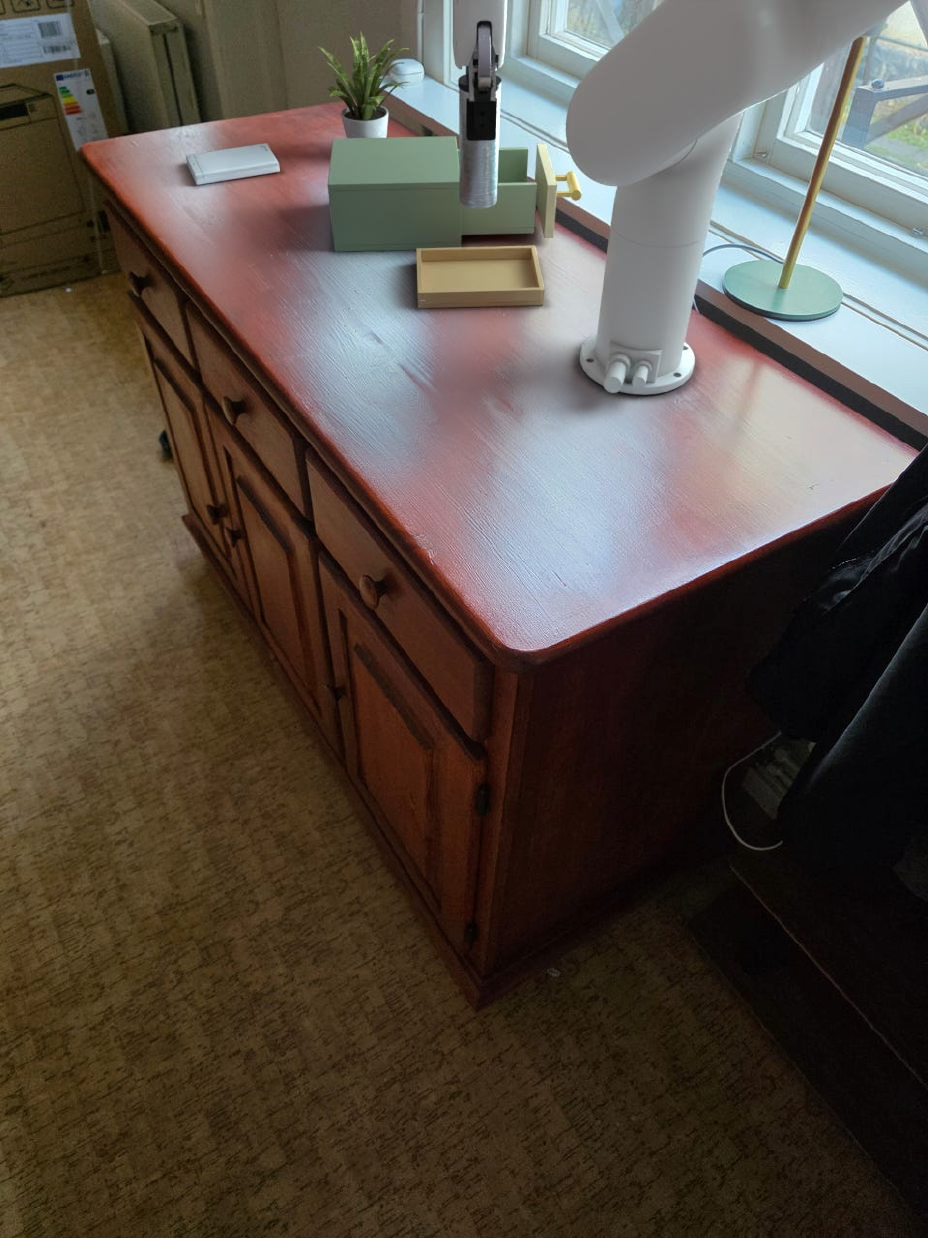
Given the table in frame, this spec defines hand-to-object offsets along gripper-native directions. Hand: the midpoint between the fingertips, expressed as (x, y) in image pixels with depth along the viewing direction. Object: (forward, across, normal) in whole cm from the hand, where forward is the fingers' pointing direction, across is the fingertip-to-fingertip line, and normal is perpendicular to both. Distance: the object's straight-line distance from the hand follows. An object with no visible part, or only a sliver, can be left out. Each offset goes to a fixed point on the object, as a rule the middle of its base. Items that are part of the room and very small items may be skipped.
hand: (479, 127), depth 97 cm
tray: (+18, 0, 0) cm, 18 cm away
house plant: (+18, -39, -13) cm, 45 cm away
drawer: (+17, -16, +5) cm, 24 cm away
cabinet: (+18, -16, -10) cm, 26 cm away
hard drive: (+18, -36, -35) cm, 53 cm away
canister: (+8, 0, 0) cm, 8 cm away
